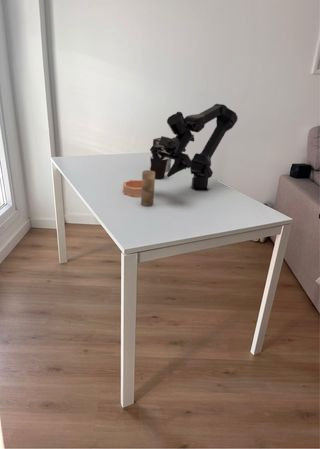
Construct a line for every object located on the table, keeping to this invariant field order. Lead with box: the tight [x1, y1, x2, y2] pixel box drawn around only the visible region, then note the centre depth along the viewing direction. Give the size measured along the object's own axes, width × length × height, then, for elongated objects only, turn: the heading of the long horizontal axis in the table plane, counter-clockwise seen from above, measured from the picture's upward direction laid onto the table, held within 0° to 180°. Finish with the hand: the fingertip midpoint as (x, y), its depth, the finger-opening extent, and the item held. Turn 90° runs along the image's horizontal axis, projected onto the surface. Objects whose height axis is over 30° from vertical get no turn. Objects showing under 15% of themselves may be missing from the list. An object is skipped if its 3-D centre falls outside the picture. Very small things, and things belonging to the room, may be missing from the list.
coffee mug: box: [149, 155, 168, 180], centre depth 160 cm, size 12×9×10 cm
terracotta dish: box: [122, 179, 142, 198], centre depth 138 cm, size 12×12×4 cm
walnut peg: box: [140, 169, 156, 207], centre depth 124 cm, size 5×5×13 cm
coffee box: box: [151, 137, 172, 173], centre depth 171 cm, size 9×6×16 cm
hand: (158, 173), depth 125 cm, fingers open, 9 cm apart
